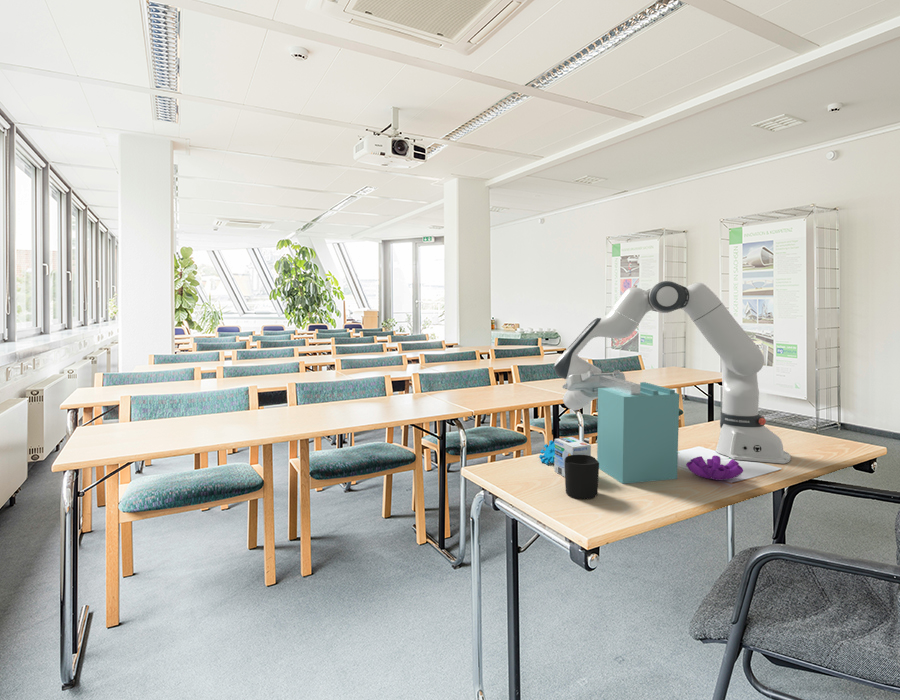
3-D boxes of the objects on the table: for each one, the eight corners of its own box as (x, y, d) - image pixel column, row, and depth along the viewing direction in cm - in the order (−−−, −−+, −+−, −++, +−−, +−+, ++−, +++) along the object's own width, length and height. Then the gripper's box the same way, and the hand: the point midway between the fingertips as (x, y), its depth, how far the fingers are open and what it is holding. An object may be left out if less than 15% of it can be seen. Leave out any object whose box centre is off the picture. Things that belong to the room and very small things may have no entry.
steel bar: (599, 384, 176) (599, 375, 175) (607, 384, 176) (607, 375, 176) (631, 395, 156) (631, 385, 156) (640, 394, 157) (640, 384, 156)
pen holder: (604, 493, 149) (605, 458, 148) (588, 503, 142) (589, 466, 141) (574, 485, 155) (574, 452, 154) (558, 494, 148) (558, 460, 147)
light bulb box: (553, 471, 168) (553, 438, 167) (571, 468, 170) (571, 436, 169) (572, 482, 158) (572, 446, 157) (591, 479, 160) (591, 444, 159)
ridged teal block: (597, 467, 171) (598, 384, 169) (647, 463, 175) (649, 381, 172) (622, 483, 156) (623, 392, 153) (677, 478, 159) (679, 389, 157)
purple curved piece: (693, 482, 166) (703, 454, 169) (744, 495, 154) (753, 465, 157) (679, 466, 160) (689, 438, 163) (730, 479, 148) (740, 448, 151)
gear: (533, 454, 182) (553, 433, 182) (544, 464, 184) (563, 443, 184) (547, 468, 171) (568, 445, 171) (558, 478, 173) (579, 456, 173)
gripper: (558, 380, 186) (573, 364, 173) (612, 377, 190) (630, 362, 178) (562, 397, 183) (577, 382, 171) (616, 394, 187) (635, 380, 175)
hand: (605, 372), depth 174 cm, fingers open, 8 cm apart
